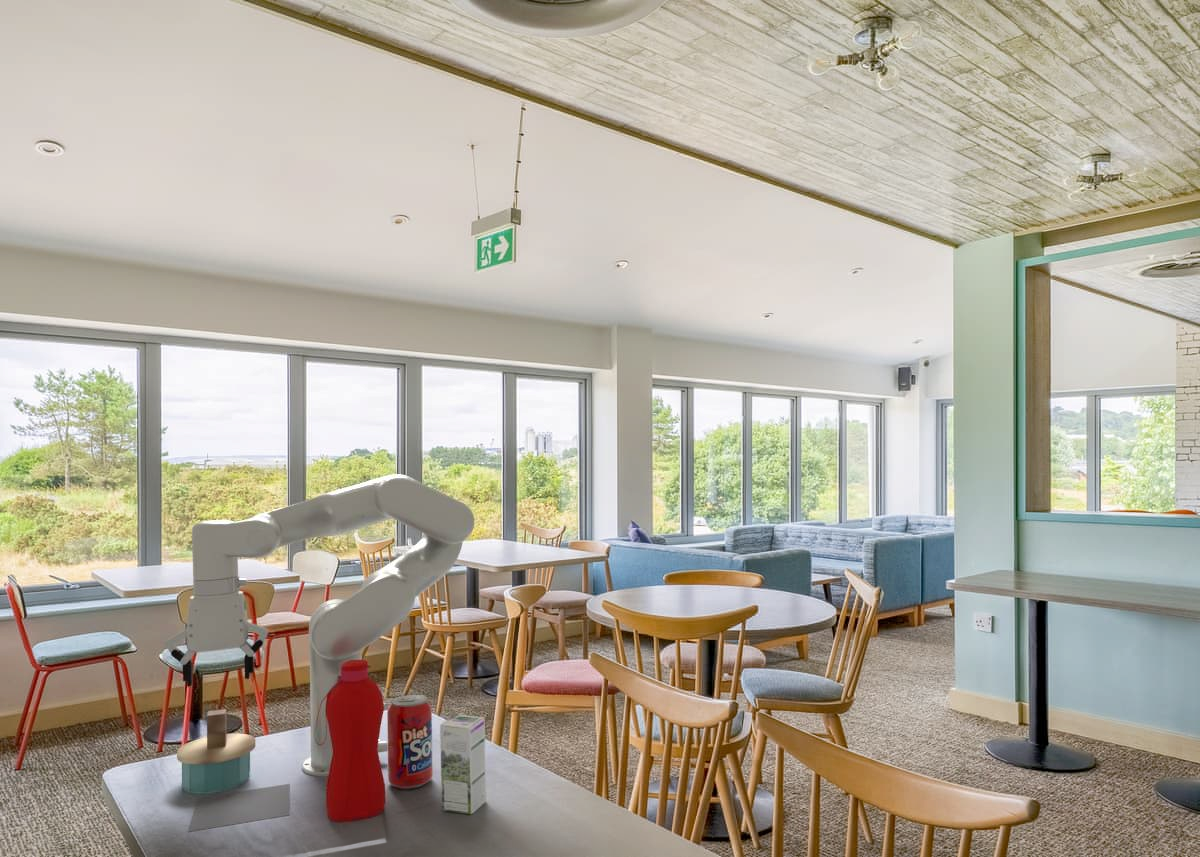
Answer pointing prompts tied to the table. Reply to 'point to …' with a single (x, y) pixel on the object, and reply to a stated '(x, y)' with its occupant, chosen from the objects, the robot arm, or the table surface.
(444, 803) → the syrup box
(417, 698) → the soda can
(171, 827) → the table surface
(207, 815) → the mat
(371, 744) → the water bottle
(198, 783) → the bowl
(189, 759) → the lid
